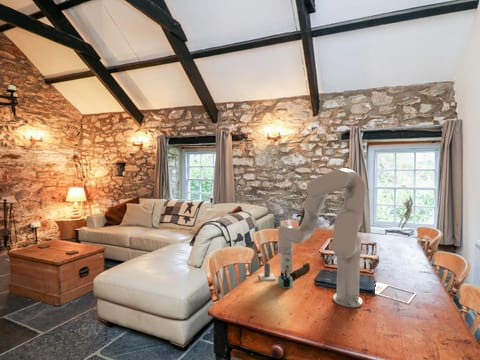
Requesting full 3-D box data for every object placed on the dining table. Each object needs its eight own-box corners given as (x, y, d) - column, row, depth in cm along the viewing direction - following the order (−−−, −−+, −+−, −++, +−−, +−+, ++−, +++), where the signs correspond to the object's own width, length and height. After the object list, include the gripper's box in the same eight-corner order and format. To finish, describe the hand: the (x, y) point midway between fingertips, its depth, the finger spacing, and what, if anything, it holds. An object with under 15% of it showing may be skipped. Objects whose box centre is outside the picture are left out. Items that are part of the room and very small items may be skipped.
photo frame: (377, 281, 149) (416, 292, 137) (377, 283, 150) (416, 294, 137) (367, 290, 139) (408, 302, 126) (366, 292, 139) (408, 305, 127)
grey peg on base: (275, 280, 152) (275, 265, 152) (260, 280, 152) (260, 265, 152) (273, 274, 160) (273, 260, 160) (259, 275, 160) (259, 260, 160)
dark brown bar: (295, 280, 153) (295, 272, 153) (289, 278, 156) (289, 270, 156) (313, 271, 167) (313, 263, 167) (307, 269, 170) (307, 262, 169)
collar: (293, 288, 143) (293, 280, 143) (279, 288, 143) (279, 280, 143) (290, 282, 150) (290, 274, 150) (277, 282, 150) (277, 275, 150)
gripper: (296, 254, 137) (296, 290, 138) (289, 244, 154) (288, 276, 155) (281, 254, 137) (280, 290, 138) (275, 244, 154) (275, 276, 155)
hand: (285, 283), depth 146 cm, fingers open, 7 cm apart
